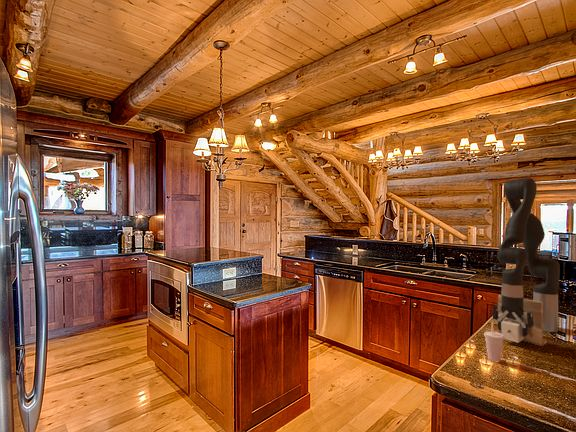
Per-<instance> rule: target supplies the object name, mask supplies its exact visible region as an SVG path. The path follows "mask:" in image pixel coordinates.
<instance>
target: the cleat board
mask: <svg viewBox="0 0 576 432" xmlns="http://www.w3.org/2000/svg"><path fill="white" fill-rule="evenodd" d="M497 305H499V306H502V294H498V295H497ZM523 310H524V311H525V312H532V313H533V323H534V326H533V327H531V328H528V335H527V336H526V337H524V339H523V340H521V341H520V342H522V341H524V342H523V343H525V342H528V343H527V344H529V343H531V344H530V345H532V344H535V345H534V346H536V345H539V346H538V347H540V346H542V345H543V346H545V345H547V344H546V343H548V341H547V340H545V339H544V331H543V302H539V301H533V299H527V298H523ZM502 314H503V312H502V311H501V309H500V310H499V312H498V317H500V316H501V315H502ZM523 318H524V319H525V321H526V323H527V317H526V316H525V314H524V315H523ZM505 319H507V317H506V318H504V319H503V320H502V321H504V320H505ZM527 324H528V323H527ZM497 333H501V334H502V331H500V330H499V329H498V328H497ZM544 344H545V345H544ZM543 346H542V347H543Z"/></svg>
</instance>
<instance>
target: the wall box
mask: <svg viewBox="0 0 576 432" xmlns="http://www.w3.org/2000/svg"><path fill="white" fill-rule="evenodd" d="M501 331H502V334H503V335H504V340H508V341H510V342H514V343H517V344H519V343H521V342H522V341H521V340H523V339H524V337H523V336H522V325H521V324H520V323H519V322H518V321H517V320H513V319H508V318H507V319H505V320H504V321H502V322H501Z"/></svg>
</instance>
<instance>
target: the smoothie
mask: <svg viewBox="0 0 576 432" xmlns="http://www.w3.org/2000/svg"><path fill="white" fill-rule="evenodd" d="M484 337H485V346H486V352H487V359H488V360H489V359H490V360H492V361H500V362H501V358H502V351H503V344H504V340H505V339H504V335H503V334H501V333H498V331H494V321H491V330H490V331H487V330H486V331H485V332H484ZM490 360H489V361H490ZM492 361H491V362H492Z"/></svg>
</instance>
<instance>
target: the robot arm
mask: <svg viewBox="0 0 576 432" xmlns="http://www.w3.org/2000/svg"><path fill="white" fill-rule="evenodd" d="M537 189H538V187H537V183H536V181H535V179H533V178H531V177H525V178H517V179H510V180H507V181H505V183H504V185H503V192H504V194H505V198H506V201H507V202H508V205H509V207H510V209H511V212H512V215H511V216H510V217H509V219H508V220H507V222H506V227H505V232H504V238H503V240H502V243H501V244H500V246H499V248H498V250H497V253H496V258H497V261H498V262H500V263H502V264H509V265H516V266H515V267H514V268H505V269H503V270H502V272H501V273H502V274H501V279H502V280H501V282H502V283H501V291H500V293H501V295H502V306H499V305H498V304H495V305H493V308H492V319H493V320H496V322H497V330H498V329H499V330H500V331H501V322H502V320H503V319H504V318H506V317H507V318H508V319H513V320H517V321H518V322H519V323H520V324H521V325H522V336H523V337H526V336H527V335H528V328H531V327H533V326H534V323H533V313H532V312H525V311H524V310H523V299H524V286H523V281H524V280H523V279H524V278H523V277H524V276H523V275H524V269H525V267H526V264H527V266H528V270H529V273H530V274H531V276H533V277H536V278H542V279H546V280H545V283H540V284H535V285H532V291H533V293H532V296H533V298H532V300H533V301H539V302H543V332H548V333H557V332H558V331H559V289H560V274H561V269H560V267H561V266H560V263H559V261H557V259H552V258H551V259H550V258H541V257H540V255H539V254H538V250H539V247H540V246H541V244H542V243H543V241H544V239H545V236H546V235H545V230H544V227H543V224H542V221H541V219H539V218H538V216H536V215H535V214H534V213H532V212H531V211H532V208H533V205H534V203H535V198H536V196H537V195H536V194H537ZM521 200H522V201H521ZM520 244H522V245H523V247H516V246H515V247H513V246H514V245H520ZM500 309H501V311H502V312H503V314H502V315H501V316H500V317H498V312H499V310H500ZM524 314H525V316H526V317H527V323H528V324H527V323H526V321H525V319H524V318H523V315H524Z"/></svg>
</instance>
